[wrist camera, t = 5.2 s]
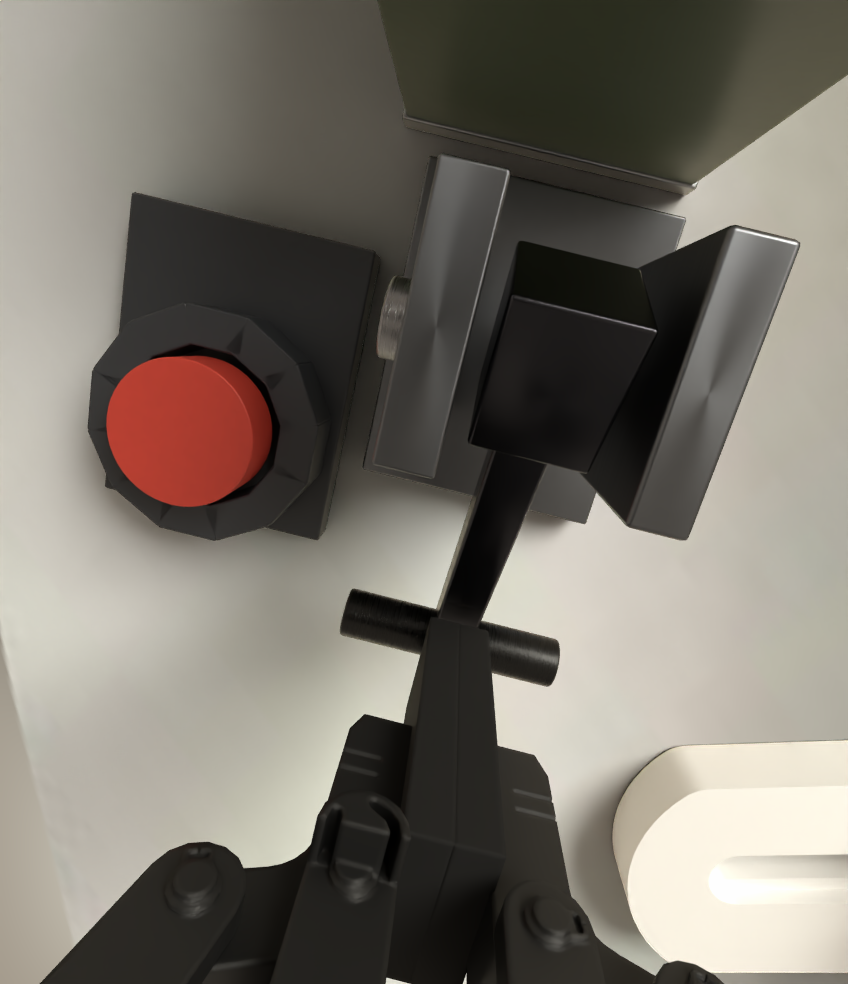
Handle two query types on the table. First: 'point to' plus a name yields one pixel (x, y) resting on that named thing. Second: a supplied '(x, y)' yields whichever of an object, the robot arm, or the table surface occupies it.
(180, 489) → the red round push button
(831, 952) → the bracket
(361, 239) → the table surface
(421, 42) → the toaster
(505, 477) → the toaster lever
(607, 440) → the bracket
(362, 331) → the button block
